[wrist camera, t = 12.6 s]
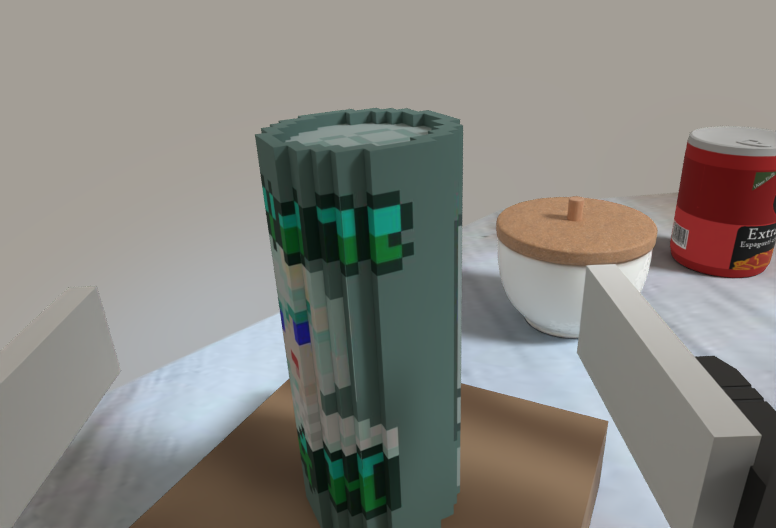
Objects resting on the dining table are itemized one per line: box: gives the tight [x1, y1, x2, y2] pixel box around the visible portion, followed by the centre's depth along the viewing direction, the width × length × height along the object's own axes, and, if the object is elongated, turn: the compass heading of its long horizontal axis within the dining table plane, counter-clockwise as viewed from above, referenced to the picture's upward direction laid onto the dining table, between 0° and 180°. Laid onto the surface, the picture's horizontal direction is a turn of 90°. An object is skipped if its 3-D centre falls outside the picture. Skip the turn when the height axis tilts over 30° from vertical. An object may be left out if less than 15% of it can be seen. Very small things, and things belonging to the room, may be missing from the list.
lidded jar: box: [496, 196, 658, 338], centre depth 42 cm, size 11×11×9 cm
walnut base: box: [129, 378, 608, 528], centre depth 25 cm, size 16×16×4 cm
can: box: [255, 108, 463, 528], centre depth 21 cm, size 6×6×15 cm
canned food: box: [670, 126, 776, 278], centre depth 49 cm, size 8×8×11 cm
